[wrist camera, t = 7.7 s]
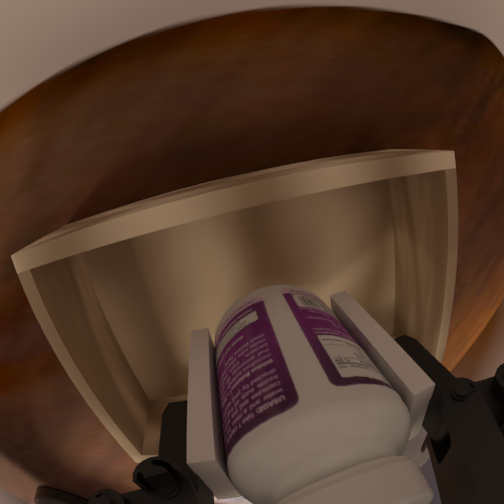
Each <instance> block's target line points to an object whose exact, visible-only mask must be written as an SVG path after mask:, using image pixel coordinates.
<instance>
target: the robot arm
mask: <svg viewBox="0 0 504 504" xmlns="http://www.w3.org/2000/svg"><path fill="white" fill-rule="evenodd" d="M330 301H331V311H332V312H333V313H334V315H335V316H336V317H337V318H338V319H339V321H340V322H341V323H342V324H343V326H344V327H345V328H346V329H347V331H348V332H349V333H350V334H351V336H352V337H353V338H354V339H355V341H356V342H357V343H358V344H359V345H360V347H361V348H362V349H363V350H364V351H365V353H366V354H367V355H368V357H369V358H370V359H371V361H372V362H373V363H374V364H375V366H376V367H377V368H378V370H379V371H380V372H381V373H382V375H383V376H384V377H385V378H386V380H387V381H388V382H389V383H390V385H391V386H392V387H393V389H395V391H396V392H397V393H398V394H399V395H400V397H401V399H402V401H403V402H404V404H405V405H406V407H407V409H408V411H409V414H410V419H411V431H410V437H409V440H410V439H412V438H414V437H416V436H418V435H419V433H420V430H421V427H422V426H423V428H424V429H425V430H426V432H427V435H426V437H425V440H424V442H423V445H422V447H421V453H423V452H424V451H425V449H426V447H427V448H428V452H429V455H430V458H431V462H432V466H433V470H434V474H435V478H436V482H437V486H438V489H439V494H440V499H441V503H442V504H504V363H503V364H502V365H500V366H499V367H498V369H497V371H496V373H495V376H494V377H491V378H488V379H485V380H481V381H478V382H473V381H471V380H470V379H468V378H456V377H454V376H453V375H452V374H451V373H450V372H449V371H448V370H447V369H446V368H445V367H444V366H443V365H442V364H441V363H440V362H439V361H438V360H437V359H436V358H435V357H434V356H433V355H431V354H430V352H429V351H428V350H427V349H424V346H422V345H421V344H420V343H419V342H418V341H417V340H416V339H414V338H412V337H409V336H407V335H402V336H400V337H398V338H395V339H393V338H392V337H391V336H390V335H389V334H388V333H387V332H386V331H385V330H384V329H383V328H382V327H381V326H380V325H379V324H378V323H377V322H376V321H375V320H374V319H373V318H372V317H371V316H370V315H369V314H368V313H367V312H366V311H365V310H364V309H363V308H362V307H361V306H360V305H359V304H358V303H357V302H356V301H355V300H354V299H353V298H352V297H351V296H350V295H349V294H348V293H347V292H346V291H342V292H339V293H336V294H333V295H330ZM160 436H161V437H160V440H159V452H158V456H155V457H149V458H147V459H145V460H143V461H142V462H141V463H139V464H138V465H137V466H136V468H135V470H134V472H133V482H135V483H136V484H137V485H138V486H139V487H140V488H141V489H139V490H136V491H132V492H129V493H125V494H121V495H120V494H119V493H117V492H116V491H115V490H110V489H102V490H99V491H97V492H95V493H94V494H93V495H92V496H91V497H90V499H89V501H86V500H84V499H81V498H79V497H76V496H73V495H71V494H68V493H65V492H61V491H58V490H54V489H50V488H44V487H41V488H38V489H37V491H36V494H35V498H34V501H35V504H214V496H215V497H216V498H217V499H226V498H233V497H239V496H241V494H240V493H239V492H238V491H237V490H236V489H235V487H234V486H233V484H232V482H231V480H230V477H229V473H228V470H227V464H226V455H225V447H224V441H223V433H222V425H221V415H220V406H219V395H218V385H217V372H216V361H215V346H214V343H213V341H212V338H211V335H210V332H209V329H208V328H204V329H200V330H195V331H191V339H190V355H189V376H188V400H184V401H178V402H171V403H168V405H167V406H166V408H165V410H164V412H163V413H162V420H161V430H160ZM213 495H214V496H213Z"/></svg>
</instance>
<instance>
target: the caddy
mask: <svg viewBox="0 0 504 504" xmlns="http://www.w3.org/2000/svg"><path fill="white" fill-rule="evenodd" d="M457 254H458V190H457V175H456V163H455V154H454V151H447V150H419V149H386V150H378V151H370V152H362V153H355V154H348V155H341V156H335V157H329V158H322V159H316V160H311V161H305V162H299V163H294V164H289V165H283V166H278V167H273V168H268V169H263V170H259V171H254V172H249V173H245V174H240V175H236V176H231V177H227V178H223V179H219V180H214V181H210V182H206V183H202V184H198V185H194V186H190V187H187V188H183V189H179V190H175V191H172V192H168V193H164V194H161V195H157V196H154V197H150V198H147V199H144V200H140V201H137V202H134V203H130V204H127V205H124V206H121V207H117V208H114V209H111V210H108V211H105V212H102V213H99V214H96V215H93V216H90V217H87V218H84V219H81V220H79V221H76V222H73V223H70V224H67V225H65V226H63V227H61V228H59V229H57V230H55V231H54V232H52V233H50V234H48V235H46V236H44V237H42V238H41V239H39V240H37V241H35V242H33V243H32V244H30V245H28V246H26V247H25V248H23V249H21V250H19V251H18V252H16V253H14V254H13V255H11V258H12V261H13V263H14V266H15V269H16V272H17V274H18V277H19V279H20V282H21V284H22V287H23V289H24V292H25V294H26V296H27V298H28V301H29V303H30V305H31V307H32V310H33V312H34V314H35V316H36V318H37V320H38V322H39V324H40V326H41V328H42V330H43V332H44V334H45V336H46V338H47V340H48V341H49V343H50V345H51V347H52V349H53V350H54V352H55V354H56V356H57V357H58V359H59V361H60V362H61V364H62V366H63V367H64V369H65V371H66V372H67V374H68V375H69V377H70V379H71V380H72V382H73V383H74V385H75V386H76V388H77V389H78V391H79V392H80V394H81V395H82V397H83V398H84V399H85V401H86V402H87V404H88V405H89V406H90V408H91V409H92V410H93V412H94V413H95V414H96V416H97V417H98V418H99V420H100V421H101V422H102V424H103V425H104V426H105V427H106V429H107V430H108V431H109V432H110V434H111V435H112V436H113V437H114V438H115V439H116V441H117V442H118V443H119V444H120V445H121V446H122V448H123V449H124V450H125V451H126V452H127V453H128V454H129V455H130V457H131V458H132V459H133V460H134V461H135V462H136V463H141V462H142V461H143V460H145V459H147V458H149V457H155V456H158V452H159V440H160V437H161V436H160V430H161V420H162V413H163V412H164V410H165V408H166V406H167V405H168V403H171V402H178V401H184V400H188V376H189V355H190V339H191V331H195V330H200V329H204V328H208V329H209V332H210V335H211V338H212V341H213V343H214V346H215V334H216V330H217V327H218V325H219V322H220V320H221V319H222V317H223V315H224V314H225V312H226V311H227V310H228V308H229V307H230V306H231V305H232V304H233V303H234V302H236V301H237V300H238V299H240V298H241V297H243V296H245V295H246V294H248V293H250V292H252V291H254V290H256V289H259V288H262V287H267V286H272V285H291V286H295V287H299V288H303V289H306V290H308V291H310V292H312V293H314V294H315V295H317V296H318V297H319V298H320V299H321V300H322V301H323V302H324V303H325V304H326V305H327V306H328V307H329V308H330V309H331V301H330V295H333V294H336V293H339V292H342V291H346V292H347V293H348V294H349V295H350V296H351V297H352V298H353V299H354V300H355V301H356V302H357V303H358V304H359V305H360V306H361V307H362V308H363V309H364V310H365V311H366V312H367V313H368V314H369V315H370V316H371V317H372V318H373V319H374V320H375V321H376V322H377V323H378V324H379V325H380V326H381V327H382V328H383V329H384V330H385V331H386V332H387V333H388V334H389V335H390V336H391V337H392V338H393V339H395V338H398V337H400V336H402V335H407V336H409V337H412V338H414V339H416V340H417V341H418V342H419V343H420V344H421V345H422V346H424V349H427V350H428V351H429V352H430V354H431V355H433V356H434V357H435V358H436V359H437V360H438V361H439V362H440V363H441V364H442V361H443V356H444V352H445V347H446V342H447V337H448V332H449V326H450V320H451V314H452V307H453V299H454V291H455V281H456V270H457Z"/></svg>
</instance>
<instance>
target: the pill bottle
mask: <svg viewBox="0 0 504 504" xmlns="http://www.w3.org/2000/svg"><path fill="white" fill-rule="evenodd" d="M215 361H216V372H217V385H218V395H219V406H220V415H221V425H222V433H223V441H224V447H225V455H226V464H227V470H228V473H229V477H230V480H231V482H232V484H233V486H234V487H235V489H236V490H237V491H238V492H239V493H240V494H241V495H242V496H243V497H244V498H245V499H247V500H248V501H250V502H252V503H253V504H429V503H430V501H431V500H432V498H433V495H434V494H433V491H432V490H431V488H430V486H429V484H428V483H427V481H426V479H425V478H424V476H423V474H422V472H421V470H420V468H419V466H418V464H417V463H416V462H414V461H410V460H409V459H408V458H407V457H404V456H402V454H403V452H404V450H405V448H406V446H407V443H408V440H409V437H410V431H411V419H410V414H409V411H408V409H407V407H406V405H405V404H404V402H403V401H402V399H401V397H400V395H399V394H398V393H397V392H396V391H395V389H393V387H392V386H391V385H390V383H389V382H388V381H387V380H386V378H385V377H384V376H383V375H382V373H381V372H380V371H379V370H378V368H377V367H376V366H375V364H374V363H373V362H372V361H371V359H370V358H369V357H368V355H367V354H366V353H365V351H364V350H363V349H362V348H361V347H360V345H359V344H358V343H357V342H356V341H355V339H354V338H353V337H352V336H351V334H350V333H349V332H348V331H347V329H346V328H345V327H344V326H343V324H342V323H341V322H340V321H339V319H338V318H337V317H336V316H335V315H334V313H333V312H332V311H331V309H330V308H329V307H328V306H327V305H326V304H325V303H324V302H323V301H322V300H321V299H320V298H319V297H318V296H317V295H315V294H314V293H312V292H310V291H308V290H306V289H303V288H299V287H295V286H291V285H272V286H267V287H262V288H259V289H256V290H254V291H252V292H250V293H248V294H246V295H245V296H243V297H241V298H240V299H238V300H237V301H236V302H234V303H233V304H232V305H231V306H230V307H229V308H228V310H227V311H226V312H225V314H224V315H223V317H222V319H221V320H220V322H219V325H218V327H217V330H216V334H215Z"/></svg>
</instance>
